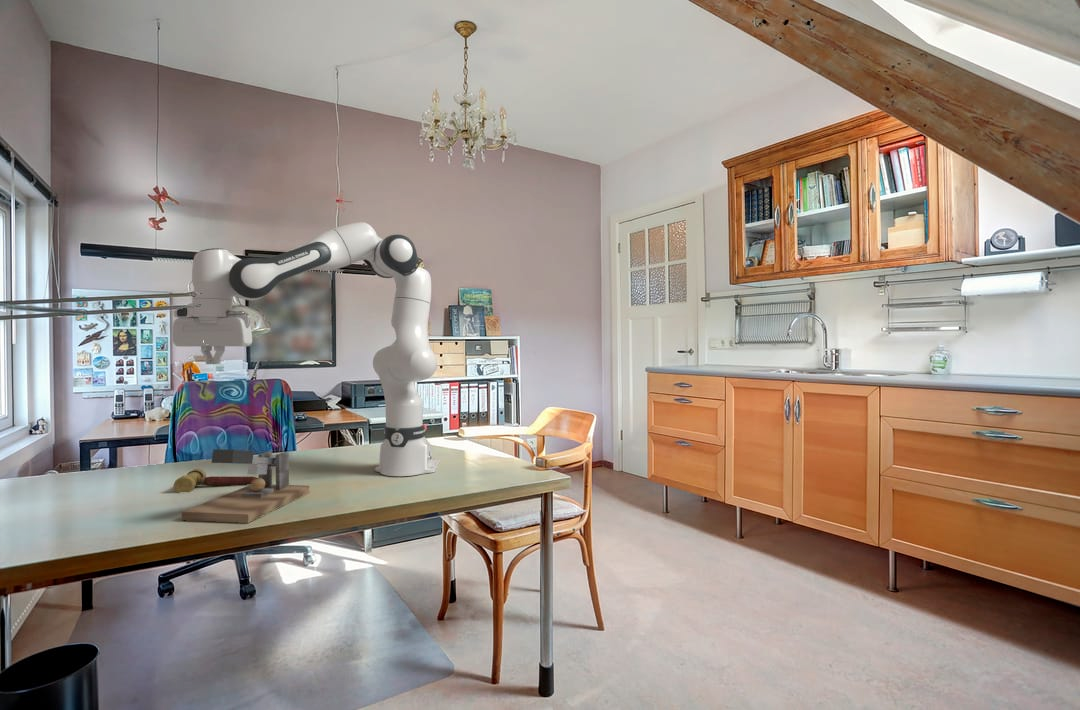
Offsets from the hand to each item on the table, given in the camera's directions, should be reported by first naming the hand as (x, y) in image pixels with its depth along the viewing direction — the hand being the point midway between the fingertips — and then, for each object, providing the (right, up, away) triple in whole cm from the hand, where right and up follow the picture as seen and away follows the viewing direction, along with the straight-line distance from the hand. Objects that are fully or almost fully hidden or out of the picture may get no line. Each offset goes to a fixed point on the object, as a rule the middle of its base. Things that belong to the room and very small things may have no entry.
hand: (213, 364), depth 137 cm
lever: (+15, -27, -10) cm, 32 cm away
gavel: (-3, -35, +9) cm, 36 cm away
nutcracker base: (+15, -34, -9) cm, 39 cm away
